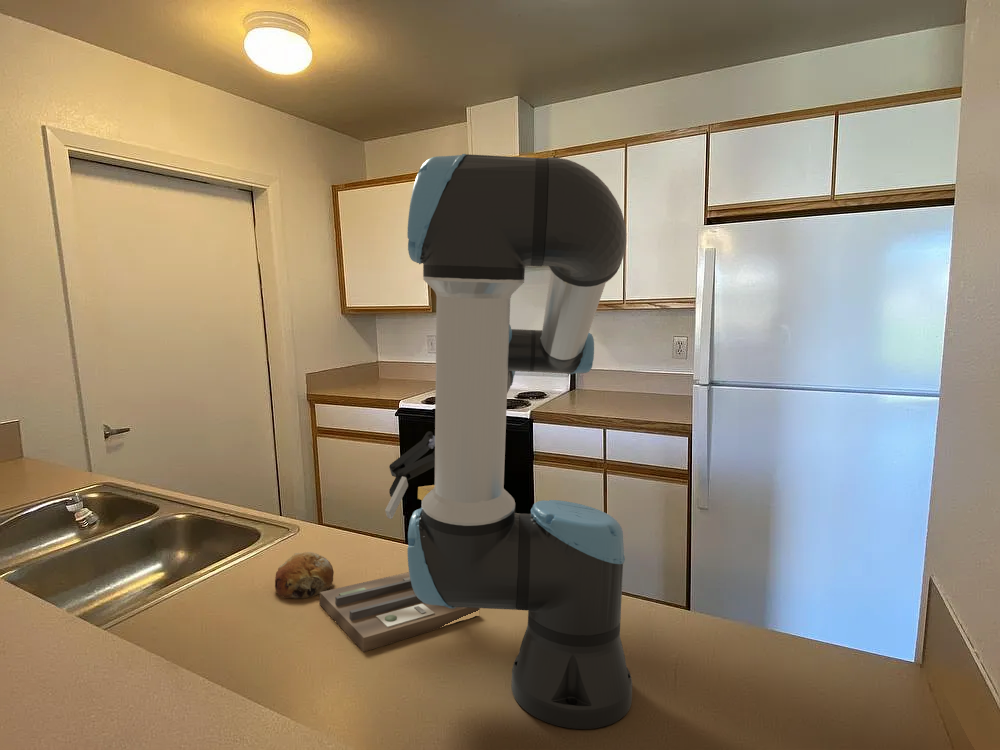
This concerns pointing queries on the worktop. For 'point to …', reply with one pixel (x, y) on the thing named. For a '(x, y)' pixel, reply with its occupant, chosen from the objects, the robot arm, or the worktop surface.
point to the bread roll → (304, 576)
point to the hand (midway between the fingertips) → (427, 527)
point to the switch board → (385, 611)
